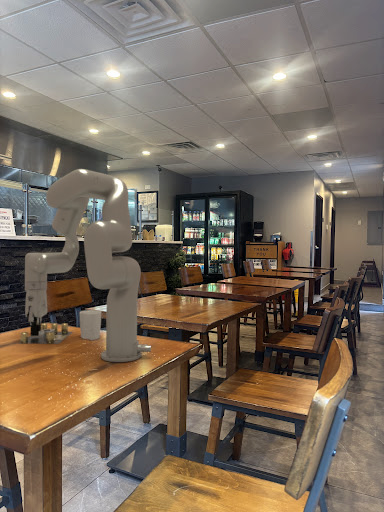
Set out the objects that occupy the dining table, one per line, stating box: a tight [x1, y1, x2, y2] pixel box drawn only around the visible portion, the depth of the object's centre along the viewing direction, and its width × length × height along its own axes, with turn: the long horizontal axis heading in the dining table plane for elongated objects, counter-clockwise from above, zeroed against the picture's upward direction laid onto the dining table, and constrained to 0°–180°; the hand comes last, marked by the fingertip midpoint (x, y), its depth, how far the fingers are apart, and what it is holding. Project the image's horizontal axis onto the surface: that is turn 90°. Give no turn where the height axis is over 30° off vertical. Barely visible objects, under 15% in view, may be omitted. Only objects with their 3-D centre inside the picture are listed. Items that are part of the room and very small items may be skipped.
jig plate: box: [18, 322, 74, 345], centre depth 137 cm, size 14×18×4 cm
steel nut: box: [39, 328, 55, 339], centre depth 137 cm, size 5×6×2 cm
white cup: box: [79, 309, 102, 341], centre depth 139 cm, size 8×8×10 cm
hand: (35, 335), depth 137 cm, fingers closed
